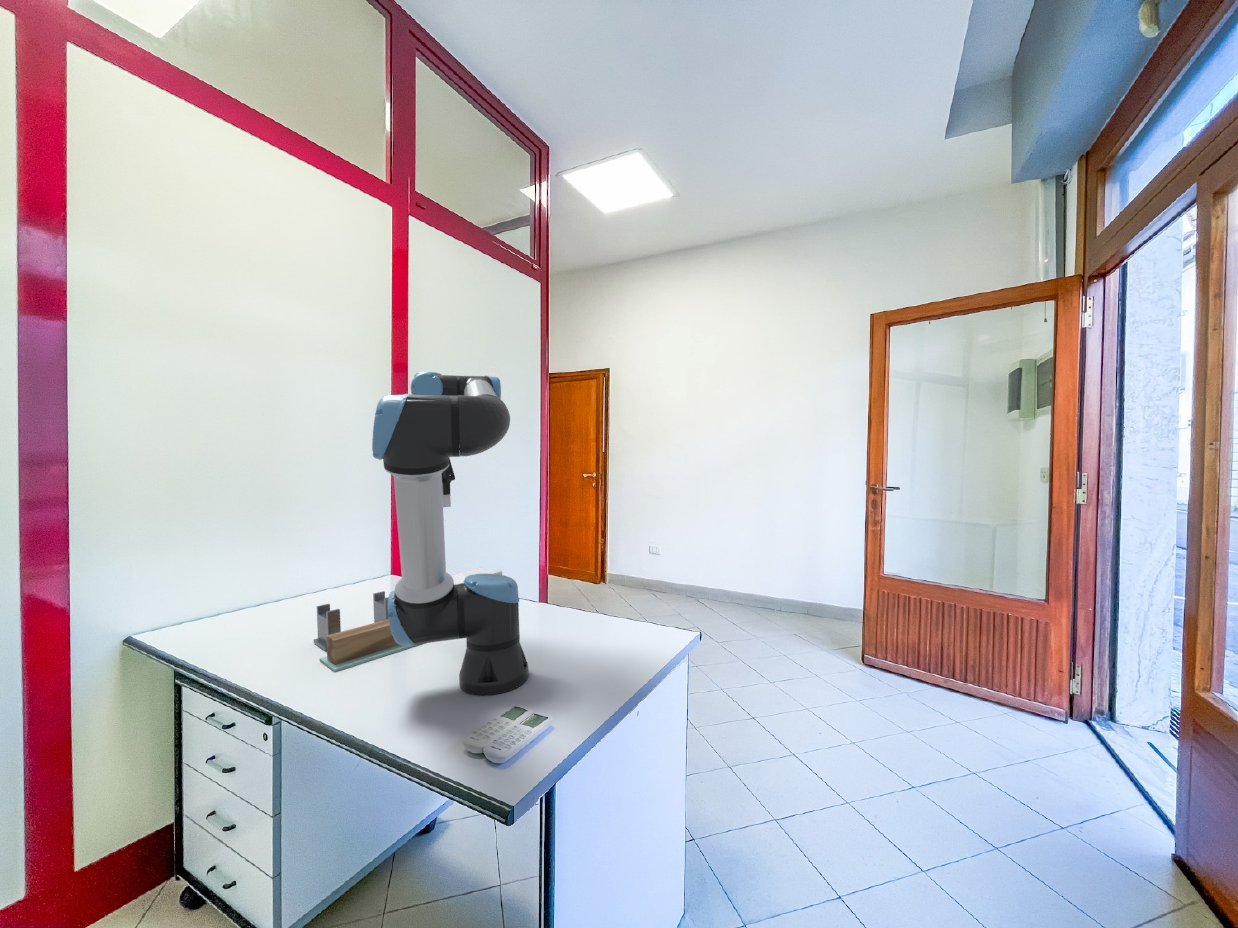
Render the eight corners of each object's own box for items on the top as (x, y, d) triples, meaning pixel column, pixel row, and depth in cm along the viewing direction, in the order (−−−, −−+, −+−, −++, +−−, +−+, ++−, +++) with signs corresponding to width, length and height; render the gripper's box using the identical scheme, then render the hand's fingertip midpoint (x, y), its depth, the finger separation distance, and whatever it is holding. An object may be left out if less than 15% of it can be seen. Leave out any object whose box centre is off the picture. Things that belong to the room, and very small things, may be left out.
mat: (430, 641, 135) (430, 639, 135) (334, 672, 117) (334, 669, 117) (413, 632, 142) (413, 630, 142) (319, 660, 124) (319, 658, 124)
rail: (422, 637, 136) (421, 616, 136) (334, 664, 120) (333, 640, 119) (413, 633, 139) (412, 612, 139) (327, 659, 123) (326, 635, 123)
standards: (401, 629, 144) (399, 595, 144) (325, 651, 130) (323, 613, 129) (387, 622, 150) (386, 590, 150) (313, 643, 136) (312, 606, 135)
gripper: (466, 427, 131) (469, 506, 132) (421, 431, 148) (423, 501, 149) (440, 426, 126) (443, 509, 126) (396, 430, 142) (399, 504, 143)
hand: (432, 505), depth 137 cm, fingers open, 13 cm apart
